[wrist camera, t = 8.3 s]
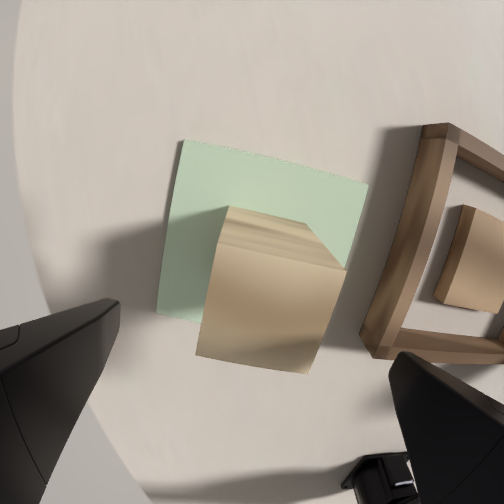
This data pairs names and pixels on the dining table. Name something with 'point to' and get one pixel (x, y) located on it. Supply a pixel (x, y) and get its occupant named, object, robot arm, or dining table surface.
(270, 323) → the beech block
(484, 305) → the wooden rectangular frame
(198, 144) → the green mat
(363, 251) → the dining table surface
